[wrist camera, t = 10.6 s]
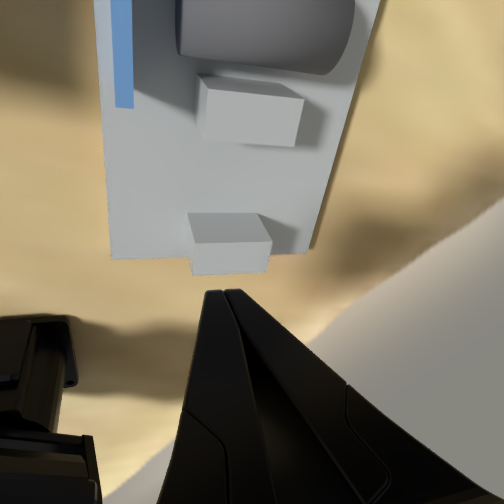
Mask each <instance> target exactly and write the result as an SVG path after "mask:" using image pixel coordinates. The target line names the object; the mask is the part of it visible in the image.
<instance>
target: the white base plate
mask: <svg viewBox="0 0 504 504" xmlns="http://www.w3.org/2000/svg"><path fill="white" fill-rule="evenodd" d="M93 1H94V16H95V30H96V45H97V59H98V74H99V88H100V103H101V117H102V132H103V146H104V161H105V176H106V190H107V205H108V219H109V234H110V248H111V260H124V259H154V258H183V257H188V259H189V263H190V268H191V272H192V276H203V275H223V274H243V273H263V272H266V270H267V266H268V261H269V257H270V255H271V254H301V253H307V251H308V248H309V245H310V241H311V238H312V234H313V231H314V227H315V224H316V220H317V217H318V213H319V210H320V207H321V203H322V200H323V196H324V193H325V189H326V186H327V182H328V179H329V176H330V172H331V169H332V165H333V162H334V158H335V155H336V151H337V148H338V145H339V141H340V138H341V134H342V131H343V127H344V124H345V120H346V117H347V114H348V110H349V107H350V103H351V100H352V96H353V93H354V89H355V86H356V82H357V79H358V76H359V72H360V69H361V65H362V62H363V58H364V55H365V51H366V48H367V45H368V41H369V38H370V34H371V31H372V27H373V24H374V20H375V17H376V14H377V10H378V7H379V3H380V0H355V11H354V19H353V25H352V29H351V33H350V37H349V40H348V43H347V45H346V48H345V50H344V53H343V55H342V57H341V58H340V60H339V62H338V63H337V65H336V66H335V67H334V69H333V70H332V71H331V72H329V73H328V74H326V75H316V74H309V73H302V72H295V71H287V70H280V69H273V68H266V67H259V66H252V65H245V64H238V63H231V62H224V61H217V60H210V59H203V58H196V57H189V56H182V55H178V52H177V47H176V35H175V0H93Z"/></svg>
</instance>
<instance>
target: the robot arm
mask: <svg viewBox="0 0 504 504" xmlns="http://www.w3.org/2000/svg"><path fill="white" fill-rule="evenodd" d="M58 324H62V325H58ZM77 384H78V371H77V364H76V358H75V352H74V346H73V340H72V334H71V328H70V322H69V320H68V319H67V318H66V317H61V316H59V317H45V318H32V319H19V320H5V321H0V504H102V492H101V486H100V479H99V473H98V467H97V460H96V454H95V447H94V441H93V436H90V435H82V436H76V435H67V434H59V433H57V428H58V421H59V414H60V407H61V400H62V394H63V388H68V387H74V386H76V385H77ZM156 504H504V499H502V498H500V497H498V496H496V495H494V494H492V493H490V492H489V491H487V490H485V489H484V488H482V487H481V486H479V485H478V484H476V483H475V482H473V481H472V480H470V479H469V478H468V477H466V476H465V475H464V474H462V473H461V472H460V471H458V470H457V469H456V468H454V467H453V466H451V465H450V464H449V463H448V462H446V461H445V460H443V459H442V458H440V457H439V456H438V455H437V454H435V453H434V452H432V451H431V450H430V449H429V448H427V447H426V446H425V445H423V444H422V443H420V442H419V441H418V440H417V439H415V438H414V437H413V436H411V435H410V434H409V433H407V432H406V431H405V430H404V429H402V428H401V427H400V426H398V425H397V424H396V423H394V422H393V421H392V420H391V419H389V418H388V417H387V416H386V415H384V414H383V413H382V412H381V411H379V410H378V409H377V408H376V407H375V406H374V405H372V404H371V403H370V402H369V401H368V400H366V399H365V398H364V397H363V396H362V395H361V394H360V393H358V392H357V391H356V390H355V389H354V388H353V387H351V386H350V385H347V384H346V381H345V380H343V379H342V378H341V377H340V376H339V375H338V374H337V373H336V372H334V371H333V370H332V369H331V368H330V367H329V366H327V365H326V364H325V363H324V362H323V361H322V360H321V359H320V358H319V357H317V356H316V355H315V354H314V353H313V352H312V351H310V350H309V349H308V348H307V347H306V346H305V345H304V344H303V343H302V342H301V341H299V340H298V339H297V338H296V337H295V336H294V335H293V334H291V333H290V332H289V331H288V330H287V329H286V328H285V327H284V326H282V325H281V324H280V323H279V322H278V321H277V320H276V319H275V318H273V317H272V316H271V315H270V314H269V313H268V312H267V311H265V310H264V309H263V308H262V307H261V306H260V305H259V304H258V303H256V302H255V301H254V300H253V299H252V298H251V297H250V296H249V295H247V294H246V293H245V292H244V291H243V290H241V289H225V290H224V291H222V290H208V291H206V292H205V295H204V300H203V305H202V310H201V315H200V320H199V326H198V331H197V336H196V341H195V346H194V351H193V356H192V361H191V366H190V371H189V376H188V381H187V386H186V391H185V396H184V401H183V406H182V412H181V415H180V420H179V425H178V430H177V435H176V439H175V443H174V448H173V452H172V456H171V460H170V463H169V466H168V469H167V472H166V476H165V479H164V483H163V485H162V489H161V492H160V494H159V497H158V501H157V503H156Z"/></svg>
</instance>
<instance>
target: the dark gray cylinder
mask: <svg viewBox="0 0 504 504" xmlns="http://www.w3.org/2000/svg"><path fill="white" fill-rule="evenodd" d="M354 11H355V0H175V35H176V47H177V52H178V55H182V56H189V57H196V58H203V59H210V60H217V61H224V62H231V63H238V64H245V65H252V66H259V67H266V68H273V69H280V70H287V71H295V72H302V73H309V74H316V75H326V74H328V73H329V72H331V71H332V70H333V69H334V67H335V66H336V65H337V63H338V62H339V60H340V58H341V57H342V55H343V53H344V50H345V48H346V45H347V43H348V40H349V37H350V33H351V29H352V25H353V19H354Z"/></svg>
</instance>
